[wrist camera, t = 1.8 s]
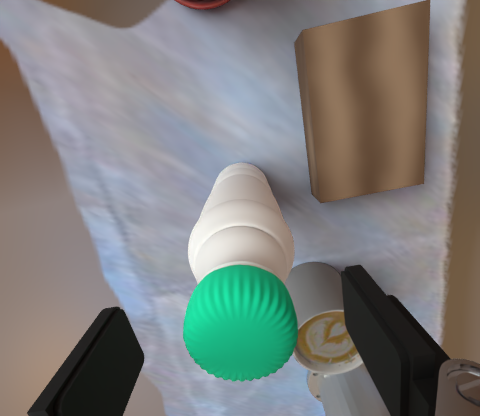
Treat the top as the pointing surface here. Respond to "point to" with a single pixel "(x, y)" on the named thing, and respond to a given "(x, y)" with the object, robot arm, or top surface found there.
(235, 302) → the water bottle
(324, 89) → the walnut stand
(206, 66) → the top surface
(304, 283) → the coffee mug
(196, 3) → the plant pot
